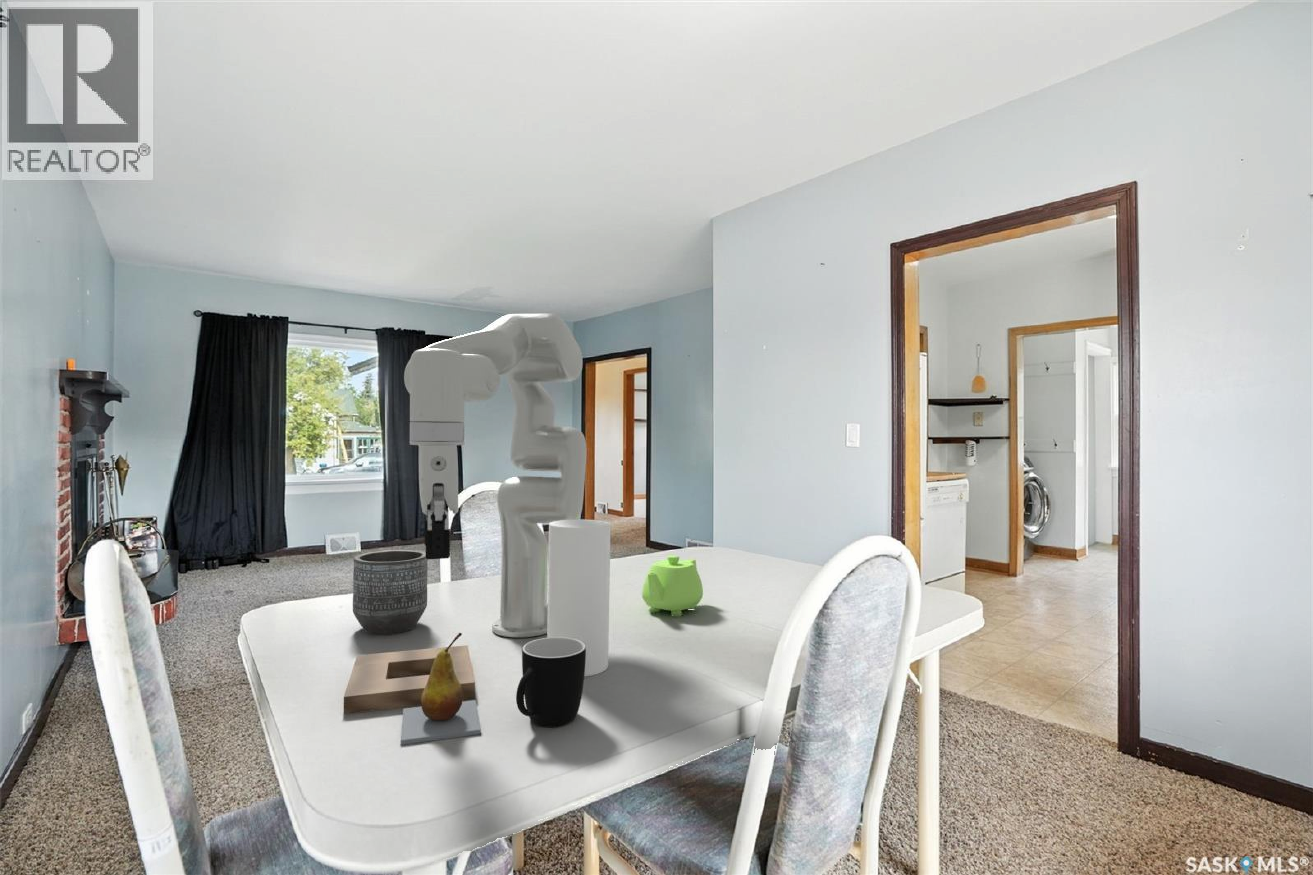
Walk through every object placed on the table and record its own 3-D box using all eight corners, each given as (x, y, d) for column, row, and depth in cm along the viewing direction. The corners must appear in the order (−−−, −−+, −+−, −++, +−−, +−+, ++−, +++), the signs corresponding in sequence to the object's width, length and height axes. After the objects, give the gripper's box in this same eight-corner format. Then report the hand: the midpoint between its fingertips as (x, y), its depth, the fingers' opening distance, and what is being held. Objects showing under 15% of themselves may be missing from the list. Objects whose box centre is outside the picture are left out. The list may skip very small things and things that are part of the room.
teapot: (673, 625, 136) (674, 566, 136) (623, 615, 143) (624, 559, 143) (717, 605, 153) (718, 553, 153) (670, 597, 160) (671, 547, 160)
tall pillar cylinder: (617, 659, 114) (619, 521, 114) (592, 681, 104) (595, 528, 104) (564, 652, 118) (566, 517, 118) (535, 672, 108) (537, 525, 108)
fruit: (450, 705, 92) (451, 623, 92) (469, 718, 88) (471, 632, 88) (412, 717, 88) (414, 631, 88) (431, 731, 84) (432, 641, 84)
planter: (336, 632, 127) (337, 558, 127) (390, 614, 140) (391, 547, 140) (390, 642, 122) (391, 564, 122) (441, 622, 135) (442, 552, 135)
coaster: (475, 704, 95) (475, 700, 95) (480, 733, 85) (480, 729, 85) (403, 712, 91) (403, 708, 91) (400, 744, 82) (400, 740, 82)
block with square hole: (467, 659, 113) (467, 645, 113) (474, 698, 96) (474, 682, 96) (356, 670, 107) (357, 655, 107) (343, 714, 90) (343, 696, 90)
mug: (547, 699, 97) (549, 633, 97) (596, 713, 92) (598, 643, 92) (492, 731, 86) (493, 656, 86) (544, 747, 82) (545, 669, 82)
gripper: (468, 436, 86) (468, 562, 86) (460, 433, 102) (459, 539, 102) (409, 436, 83) (408, 566, 83) (410, 433, 99) (409, 542, 100)
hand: (436, 551), depth 93 cm, fingers open, 9 cm apart
